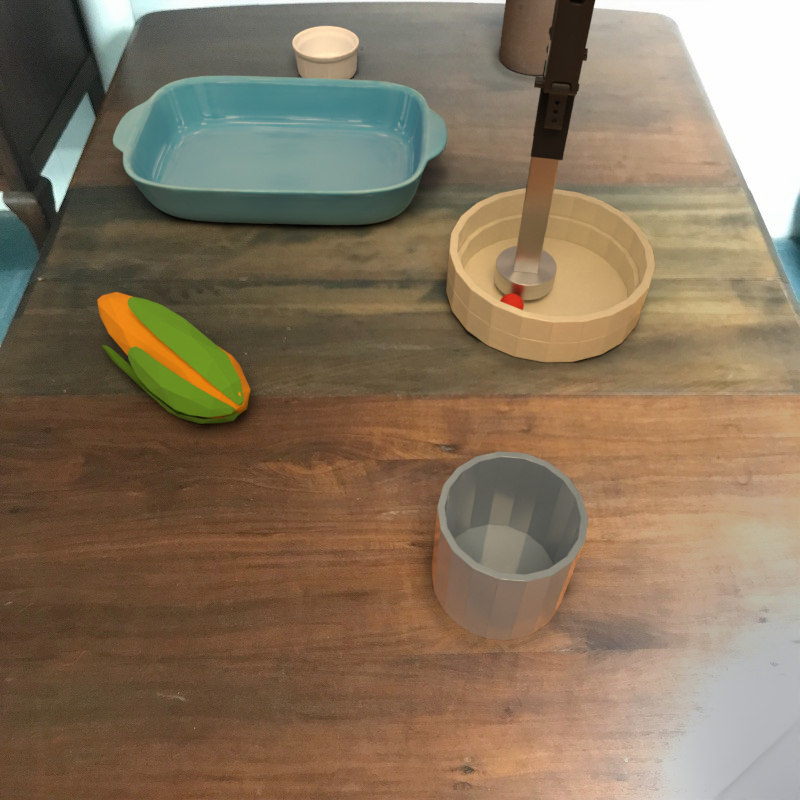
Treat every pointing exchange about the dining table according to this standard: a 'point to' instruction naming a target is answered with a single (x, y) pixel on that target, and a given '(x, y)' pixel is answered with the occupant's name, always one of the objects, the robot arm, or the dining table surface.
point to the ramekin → (326, 52)
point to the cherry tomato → (513, 300)
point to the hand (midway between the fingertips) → (547, 145)
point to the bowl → (573, 285)
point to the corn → (174, 360)
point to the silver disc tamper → (531, 237)
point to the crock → (506, 543)
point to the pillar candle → (526, 35)
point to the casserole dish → (280, 149)
